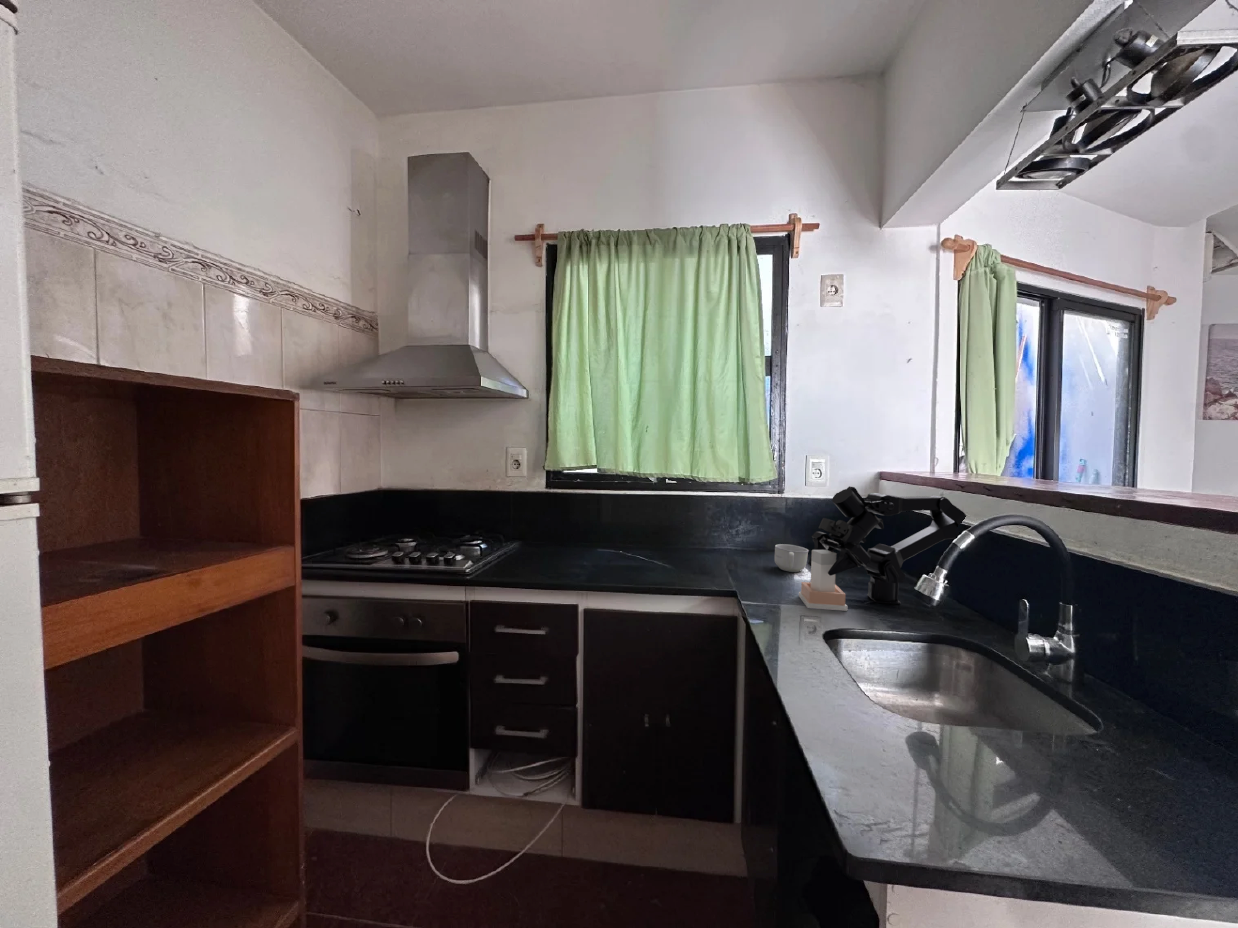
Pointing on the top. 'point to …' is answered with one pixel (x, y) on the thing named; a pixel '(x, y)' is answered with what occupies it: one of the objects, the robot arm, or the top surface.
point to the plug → (822, 571)
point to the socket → (823, 598)
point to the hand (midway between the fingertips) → (818, 569)
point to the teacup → (790, 557)
